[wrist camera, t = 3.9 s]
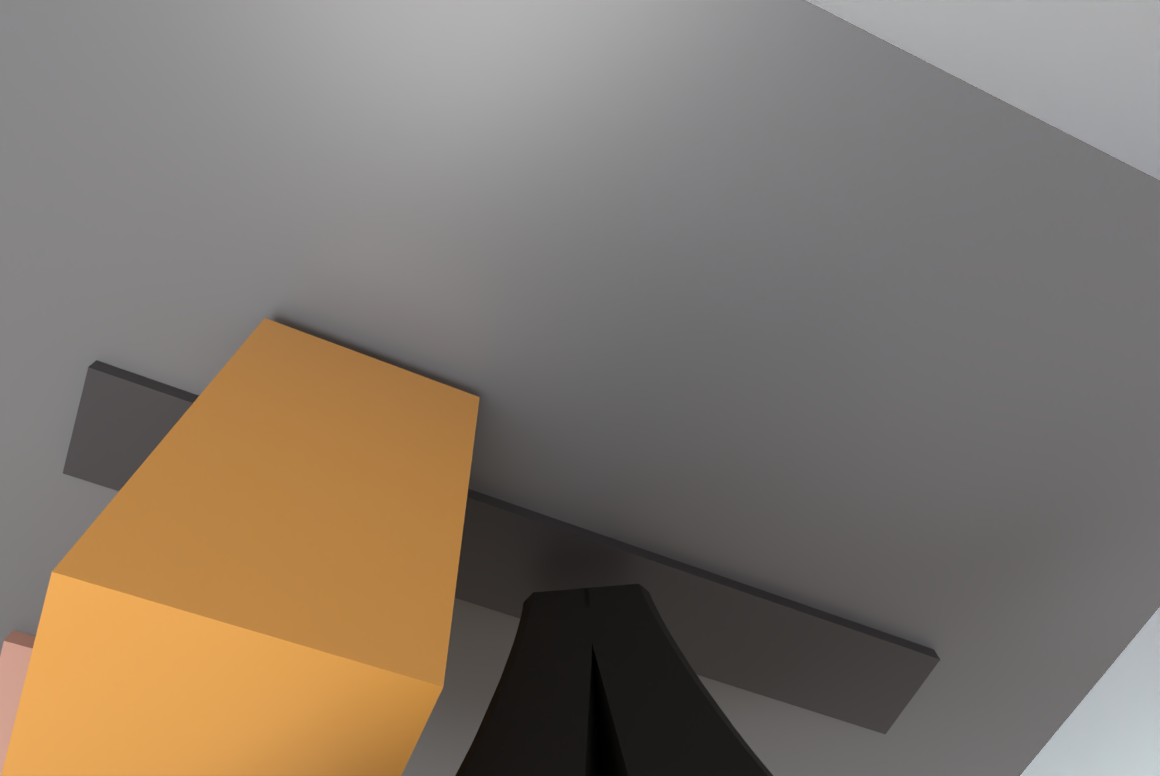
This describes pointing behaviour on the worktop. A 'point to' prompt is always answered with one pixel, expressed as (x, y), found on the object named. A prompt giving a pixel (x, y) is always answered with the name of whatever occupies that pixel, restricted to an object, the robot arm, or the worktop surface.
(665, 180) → the breaker panel
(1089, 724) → the worktop surface
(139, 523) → the block
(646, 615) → the robot arm
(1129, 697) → the worktop surface
